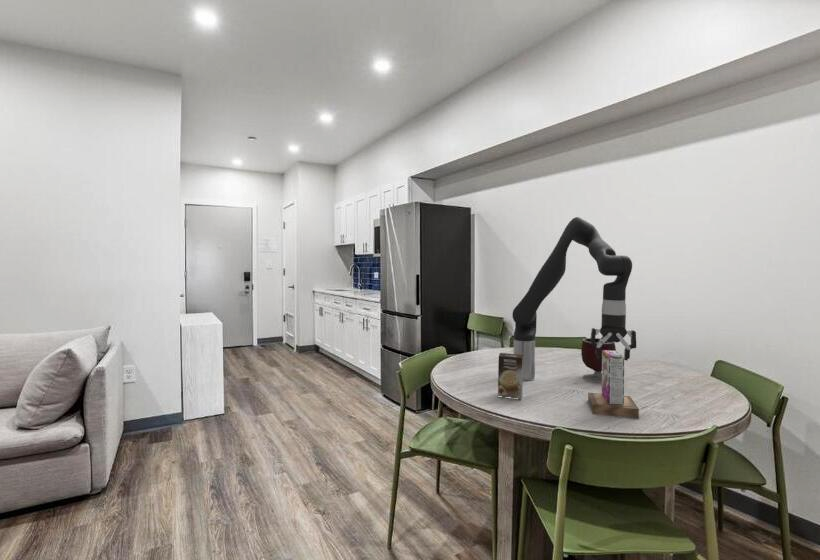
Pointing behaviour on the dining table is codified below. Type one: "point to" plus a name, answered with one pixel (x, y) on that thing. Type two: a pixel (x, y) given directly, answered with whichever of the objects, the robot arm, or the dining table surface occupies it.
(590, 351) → the mate gourd
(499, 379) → the coffee box
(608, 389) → the candy bar box
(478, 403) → the dining table surface
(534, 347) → the robot arm
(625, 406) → the walnut board
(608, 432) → the dining table surface
